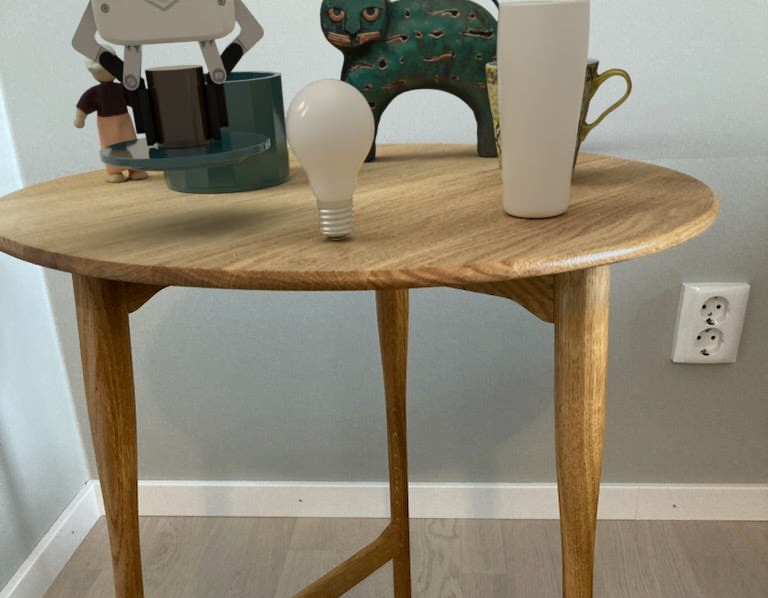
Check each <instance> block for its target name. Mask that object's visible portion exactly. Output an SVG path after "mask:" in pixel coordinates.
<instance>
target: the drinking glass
mask: <svg viewBox="0 0 768 598" xmlns="http://www.w3.org/2000/svg"><path fill="white" fill-rule="evenodd" d="M497 11H498V10H497ZM590 20H591V0H523V1H522V0H521V1H507V2H506V1H505V2H500V3H499V11H498V14H497V21H498V26H497V84H498V102H499V119H500V137H501V155H502V176H503V181H502V203H501V204H502V209H503V211H504V212H505V213H506V214H508V215H511V216H513V217H518V218H527V219H542V218H543V219H545V218H553V217H556V216H557V217H558V216H559V215H562V214H564V213H565V212H566V211H567V210H568V208H569V206H570V198H571V197H570V196H571V182H572V179H571V176H572V168H573V160H574V153H575V146H576V139H577V132H578V124H579V117H580V110H581V104H582V97H583V90H584V83H585V75H586V67H587V58H589V45H590V44H589V43H590V25H591V24H590V23H591V21H590Z"/></svg>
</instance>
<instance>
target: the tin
mask: <svg viewBox="0 0 768 598" xmlns="http://www.w3.org/2000/svg"><path fill="white" fill-rule="evenodd" d="M207 73H208V72H204V79H205V84H207V78H206V74H207ZM223 85H224V93H225V101H226V108H227V116H228V125H229V127H221V128H220V130H221V131H234V132H251V133H258V134H263V135H266V136H268V137H269V141H270V147H269V148H268V149H267V150H265V151H263V152H261V153H258V154H255V155H251V156H248V157H247V158H245V159H243V160H241V161H238V162H235V163H231V164H227V165H222V166H216V167H210V168H202V169H193V170H181V171H163V178H164V182H165V183H166V187H167V188H168V189H170V190H172V191H174V192H175V191H176V192H180V193H190V194H226V193H238V192H249V191H255V190H260V189H265V188H266V189H267V188H270V187H274V186H278V185H282V184H284V183H286V182H288V181H289V180H291V163H290V151H289V144H288V140H287V136H286V128H285V125H286V116H287V114H286V105H285V104H286V103H285V94H284V82H283V73H281V72H277V71H269V70H268V71H265V70H243V71H241V70H240V71H239V70H238V71H234V70H232V71H231V73H230V74H229V75H228V77H227V78H226V80H225V82H224V83H223Z"/></svg>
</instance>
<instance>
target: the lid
mask: <svg viewBox="0 0 768 598" xmlns="http://www.w3.org/2000/svg"><path fill="white" fill-rule="evenodd" d="M204 73H205V72H204V66H203V65H201V64H179V65H166V66H156V67H150V68H146V69H144V74H145V82H146V88H148V92H149V98H150V105H151V111H152V117H153V123H154V129H155V135H156V141H157V143H156V144H154V146H147V141H146V137H142V138H137V139H134V140H129V141H125V142H120V143H116V144H113V145H110V146H107V147H105V148H103V149H101V148H100V150H99V152H98V154H99V159H100V161H101V163H103V164H104V165H105V164H109V165H114V166H122V167H127V168H130V169H134V170H141V171H146V172H164V171H181V170H193V169H202V168H210V167H216V166H222V165H227V164H231V163H235V162H238V161H241V160H243V159H245V158H247V157H248V156H251V155H255V154H258V153H261V152H263V151H265V150H267V149H268V148H269V147H270V141H269V137H268V136H266V135H263V134H258V133H251V132H234V131H221V138H222V140H217V141H215V139H212V133H211V125H210V118H209V111H208V103H207V96H206V89H205V79H204Z"/></svg>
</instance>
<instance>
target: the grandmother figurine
mask: <svg viewBox="0 0 768 598" xmlns="http://www.w3.org/2000/svg"><path fill="white" fill-rule="evenodd" d="M98 43H99V44H100V45H102V46H103V47H105V48H106V49H108V50H109V51H112V52H113V53H114V54H115V55H117V56H118V54H117V53H116V51H115V49H114V48H113V46H112V45H109V44H108V43H100V42H98ZM83 62H84V66H85V68H86V70H87V71H88V73H90V74H91V76H92V77H93V79H94V80H96V81H97V82H98V83H99V84H95V85H93V86H91V87H89V88H88V89H86V90H85V91H84V92H83V93H82V95H81V96H80V98H79V99H78V101H77V103H76V105H75V107H76V110H75V118H74V119H73V125H74V127H75V128H77V129H83V128H85V124H86V122H85V121H86V120H87V117H88V115H91V114H94V113H96V127H97V133H98V138H99V145H100V150H101V149H103V148H105V147H107V146H110V145H113V144H116V143H120V142H125V141H129V140H134V139H138V137H137V133H136V128H135V125H134V123H133V122H134V121H133V119H132V116H131V114H130V111H129V108H128V107H130V108H131V109H132V105H131V99H130V93H129V90H128V89H127V88H126V87H125V86H124V85H123V84H122V83H121V82H119V81H115V80H116V78H115V77H114V76H112V75H111V74H110V73H109V72H108V71H106V70H105V69H104V68H103V67H102V66H101V65H99V64H97V63H96V62H94V61H92V60H91V59H89V58H87V57H86V56H85V57H84V61H83ZM104 166H105V170H106V175H105V178H104V181H105V182H108V183H122V182H125V181H127V177H125V175H124V174H123V172H125V171H128V177H129V179H131V180H144V179H146V178H147V177H148V171H141V170H134V169H130V168H127V167H122V166H114V165H109V164H105V163H104Z"/></svg>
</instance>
